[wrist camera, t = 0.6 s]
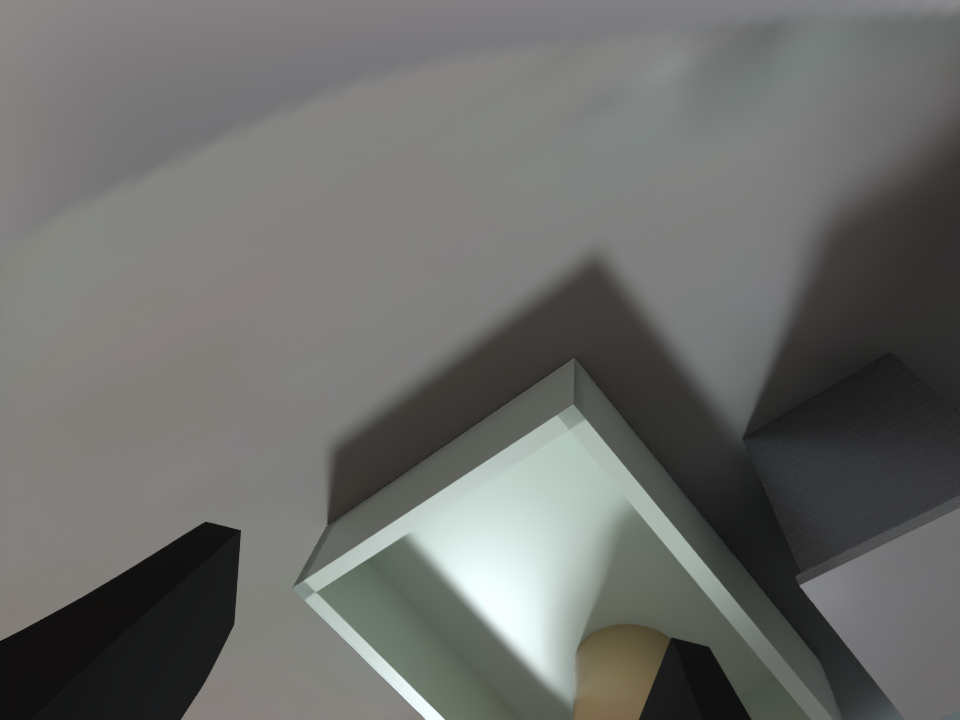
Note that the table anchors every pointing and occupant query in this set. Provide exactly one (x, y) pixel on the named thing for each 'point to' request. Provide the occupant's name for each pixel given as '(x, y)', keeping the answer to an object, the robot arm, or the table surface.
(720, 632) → the crate
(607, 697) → the jar
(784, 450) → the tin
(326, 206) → the table surface
